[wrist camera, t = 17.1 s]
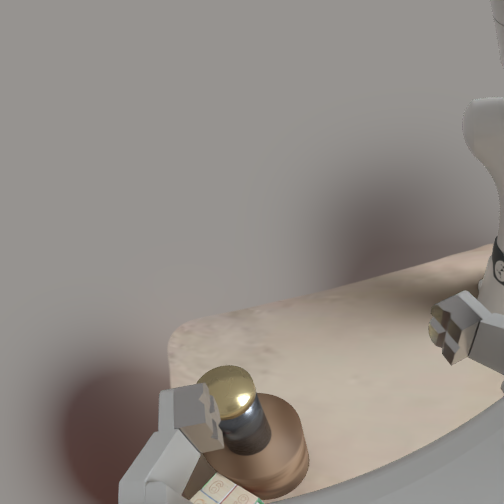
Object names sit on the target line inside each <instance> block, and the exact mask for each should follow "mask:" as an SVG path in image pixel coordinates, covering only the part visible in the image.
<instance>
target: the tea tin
mask: <svg viewBox="0 0 504 504" xmlns="http://www.w3.org/2000/svg"><path fill="white" fill-rule="evenodd" d="M199 383H206V385H207V386H208V388H209V395H212V396H213V397H214V399H215V401H216V403H217V406H218V409H219V413H220V419H221V421H220V423H219V425H218V426H219V428H220V429H221V431H222V434H223V441H224V443H225V444H226V445H227V447H228V448H229V449H230V450H231V451H232V452H234V453H236V454H238V455H243V456H249V455H254V454H257V453H259V452H260V451H262V450H263V449H264V448H266V446H267V445H268V444H269V442H270V440H271V436H272V431H271V428H270V425H269V423H268V420H267V418H266V415H265V413H264V411H263V408H262V406H261V403H260V401H259V398H258V396H257V393H256V389H255V385H254V383H253V380H252V378H251V376H250V374H249V373H248V372H247V371H246V370H244V369H242V368H240V367H237V366H230V365H229V366H220V367H217V368H214V369H212V370H210V371H208V372H207V373H205V374H204V375H203V376H202V377H201V378H200V379H199V380H198V382H197V384H199Z"/></svg>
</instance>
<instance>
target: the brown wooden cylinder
mask: <svg viewBox="0 0 504 504" xmlns="http://www.w3.org/2000/svg"><path fill="white" fill-rule="evenodd" d="M257 396H258V398H259V401H260V403H261V406H262V408H263V411H264V413H265V415H266V418H267V420H268V423H269V425H270V428H271V431H272V436H271V440H270V442H269V444H268V445H267V446H266V448H264V449H263V450H262V451H260V452H259V453H257V454H254V455H249V456H243V455H238V454H236V453H234V452H232V451H231V450H230V449H229V448H228V447H227V445H226V444H225V443H224V448H223V449H219V450H214V451H209V452H204V453H203V455H204V456H205V458H206V460H207V461H208V463H209V464H210V465H211V466H212V467H213V468H214V469H215V470H216V471H217V472H218V473H220V474H221V475H222V476H224V477H225V478H227V479H229V480H230V481H232V482H233V483H235V484H236V485H238V486H240V487H242V488H243V489H245V490H246V491H248V492H250V493H251V494H253V495H255V496H256V497H258V498H260V499H261V500H268V499H275V498H278V497H281V496H284V495H286V494H288V493H289V492H291V491H292V490H294V489H295V488H296V487H297V486H298V485H299V484H300V483H301V482H302V480H303V479H304V477H305V476H306V473H307V471H308V467H309V454H308V450H307V446H306V442H305V438H304V434H303V429H302V425H301V421H300V418H299V416H298V414H297V412H296V411H295V409H294V408H293V407H292V406H291V405H290V404H289V403H287V402H286V401H284V400H283V399H281V398H279V397H276V396H273V395H269V394H263V393H257Z"/></svg>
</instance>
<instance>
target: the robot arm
mask: <svg viewBox="0 0 504 504" xmlns="http://www.w3.org/2000/svg"><path fill="white" fill-rule="evenodd" d="M490 2H491V7H492V12H493V17H494V22H495V27H496V33H497V39H498V46H499V53H500V60H501V63H502V66H503V68H504V0H490ZM462 130H463V135H464V139H465V142H466V144H467V146H468V148H469V150H470V151H471V153H472V154H473V155H474V156H475V157H476V158H477V159H478V160H479V161H480V162H481V163H482V164H483V165H484V166H485V167H486V169H487V170H488V171H489V173H490V175H491V176H492V178H493V180H494V182H495V185H496V187H497V191H498V194H499V202H500V216H499V229H498V236H497V237H496V238H495V242H494V245H493V252H492V256H490V258H489V260H488V264H487V267H486V271H485V274H484V277H483V279H481V280H480V281H479V283H478V289H479V295H478V298H477V299H476V298H475V297H474V296H472V295H471V294H470V293H469V292H468V291H465V290H464V291H462V292H460V293H458V294H456V295H454V296H451V297H449V298H447V299H445V300H443V301H441V302H439V303H437V304H435V305H433V307H432V309H431V314H432V316H433V318H432V319H431V321H430V322H429V328H428V330H429V335H430V338H431V340H432V342H433V343H434V344H435V345H436V346H438V347H441V348H442V354H443V356H444V357H445V358H446V359H447V361H448V362H449V363H450V364H451V365H453V364H455V363H457V362H459V361H461V360H463V359H465V358H466V357H468V356H469V357H468V358H470V359H472V360H474V361H476V362H478V363H481V364H483V365H485V366H487V367H489V368H491V369H493V370H495V371H497V372H499V373H501V374H503V375H504V98H501V97H491V98H482V99H475V100H472V101H471V102H470V104H469V105H468V106H467V108H466V110H465V112H464V115H463V122H462ZM501 390H502V391H503V392H504V381H503V383H502V385H501ZM220 421H221V419H220V413H219V409H218V406H217V403H216V401H215V399H214V397H213V396H212V395H209V388H208V386H207V385H206V383H199V384H194V385H189V386H184V387H178V388H173V389H168V390H163V391H161V392H160V394H159V413H158V432H154V433H153V434H152V436H151V437H150V439H149V440H148V442H147V443H146V445H145V446H144V448H143V449H142V450H141V452H140V453H139V455H138V456H137V458H136V459H135V461H134V462H133V463H132V465H131V466H130V468H129V469H128V471H127V472H126V473H125V475H124V476H123V478H122V479H121V481H120V482H119V498H118V504H194V503H192V502H191V501H189V500H188V499H186V498H184V497H183V496H181V495H182V493H183V491H184V489H185V487H186V485H187V483H188V480H189V478H190V476H191V474H192V472H193V470H194V468H195V466H196V464H197V462H198V459H199V457H200V455H201V454H200V453H204V452H209V451H214V450H219V449H223V448H224V441H223V434H222V431H221V429H220V428H219V426H218V425H219V423H220ZM267 504H504V396H503V397H502V398H501V399H499V400H498V401H497V402H495V403H494V404H492V405H491V406H490V407H488V408H487V409H485V410H484V411H482V412H481V413H479V414H478V415H476V416H475V417H473V418H472V419H470V420H469V421H467V422H466V423H464V424H462V425H461V426H459V427H458V428H456V429H454V430H453V431H451V432H449V433H447V434H446V435H444V436H442V437H441V438H439V439H437V440H435V441H433V442H432V443H430V444H428V445H426V446H424V447H422V448H420V449H418V450H416V451H414V452H412V453H410V454H408V455H406V456H404V457H402V458H400V459H398V460H396V461H393V462H391V463H389V464H387V465H384V466H382V467H380V468H377V469H375V470H373V471H370V472H368V473H365V474H363V475H360V476H358V477H355V478H352V479H350V480H347V481H344V482H341V483H338V484H335V485H332V486H329V487H326V488H323V489H320V490H317V491H314V492H310V493H307V494H303V495H300V496H296V497H292V498H288V499H284V500H280V501H276V502H272V503H267Z"/></svg>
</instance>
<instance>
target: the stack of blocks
mask: <svg viewBox="0 0 504 504" xmlns="http://www.w3.org/2000/svg"><path fill="white" fill-rule="evenodd" d="M189 501H191V502H192V503H194V504H265V503H264V502H263V501H262V500H261V499H260V498H258V497H256V496H255V495H253V494H251V493H250V492H248V491H246V490H245V489H243V488H242V487H240V486H238V485H236V484H235V483H233V482H232V481H230V480H229V479H227V478H225V477H224V476H222V475H221V474H220V473H218V472H217V473H215V474H214V476H213V477H212V478H211V479H210V480H209V481H208V482H207V483H206V484H205V485H204V486H203V487H202V489H201V490H199V491H198V492H197V493H196V494H195V495H194V496H193V497H192V498H191V499H190V500H189Z"/></svg>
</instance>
